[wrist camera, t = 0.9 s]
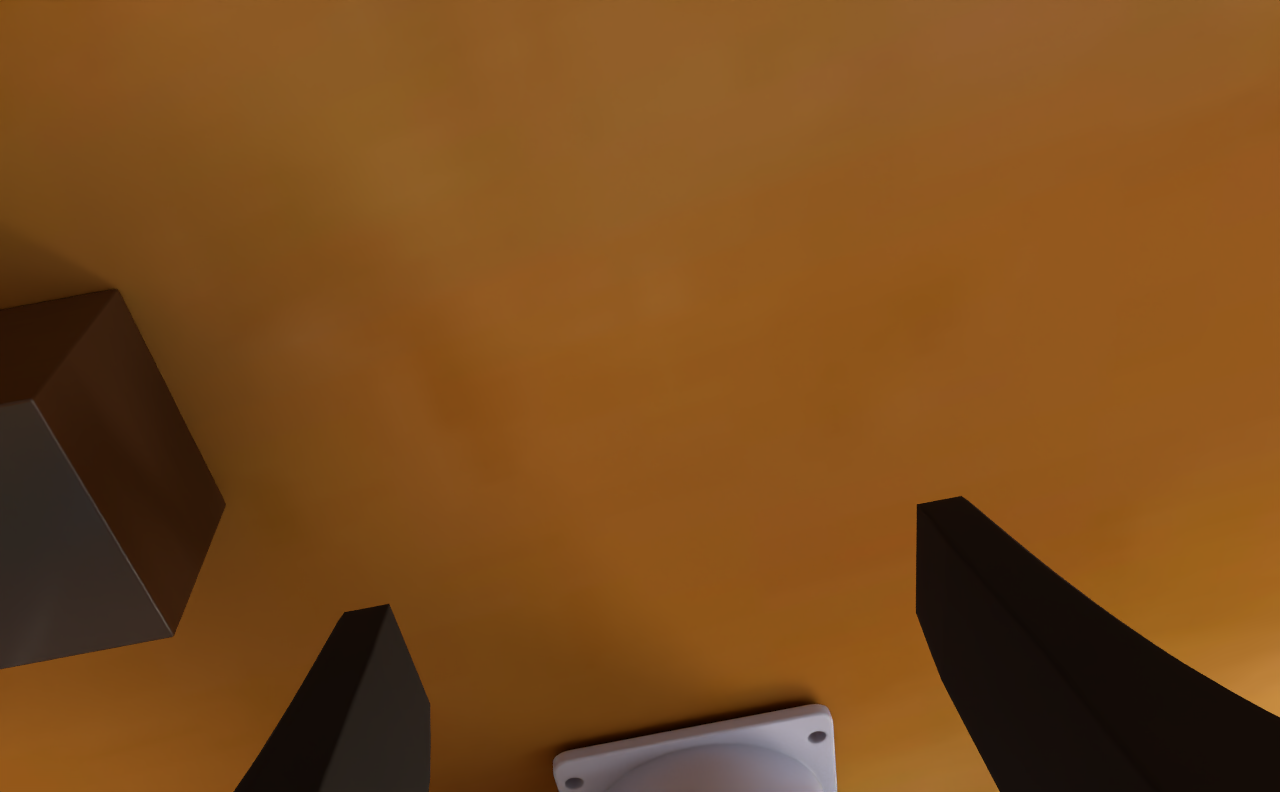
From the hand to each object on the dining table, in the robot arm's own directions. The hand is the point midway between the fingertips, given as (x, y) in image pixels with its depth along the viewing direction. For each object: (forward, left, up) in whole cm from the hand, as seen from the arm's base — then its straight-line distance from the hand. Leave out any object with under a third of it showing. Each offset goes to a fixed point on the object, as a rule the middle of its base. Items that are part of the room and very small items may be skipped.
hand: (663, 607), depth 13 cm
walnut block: (0, +12, -8) cm, 15 cm away
